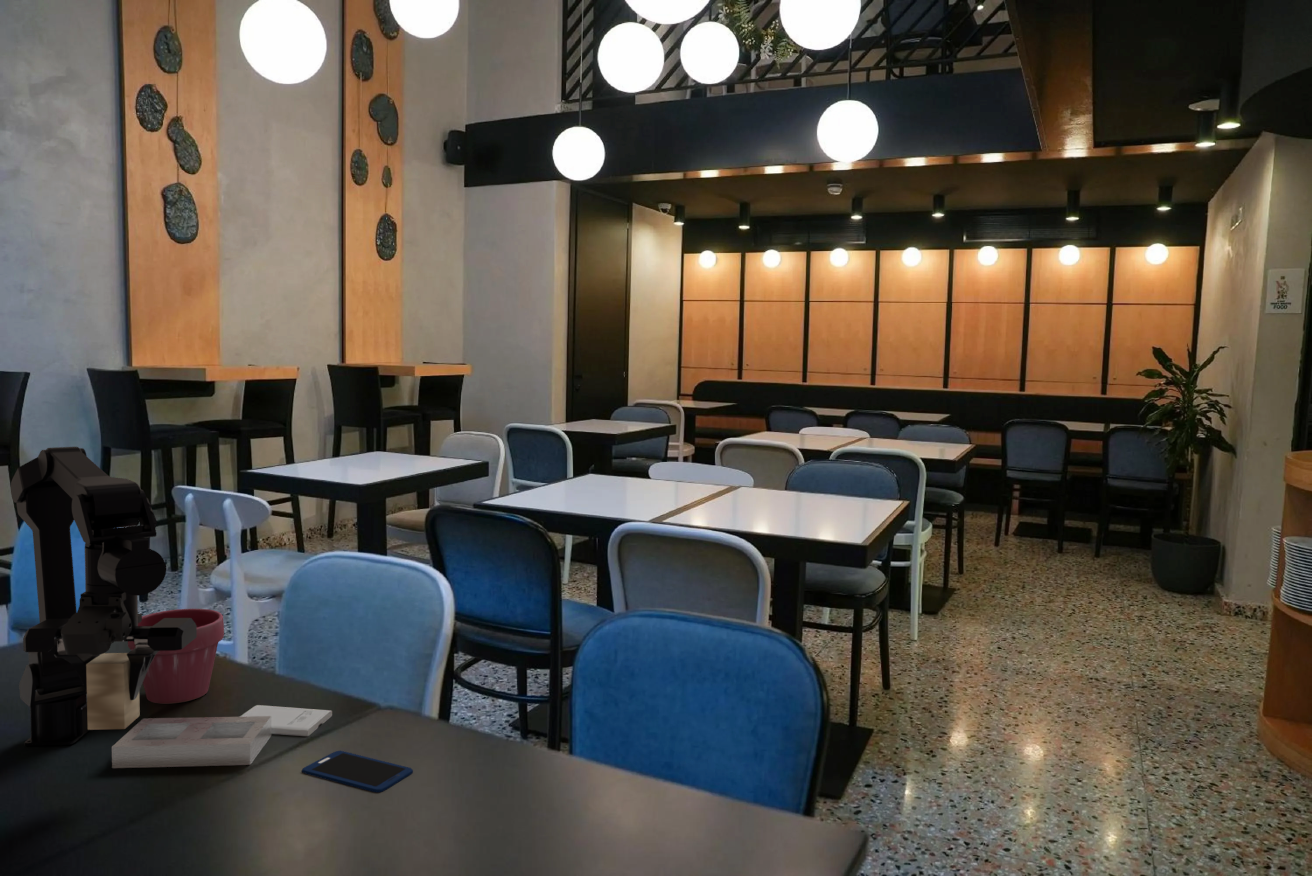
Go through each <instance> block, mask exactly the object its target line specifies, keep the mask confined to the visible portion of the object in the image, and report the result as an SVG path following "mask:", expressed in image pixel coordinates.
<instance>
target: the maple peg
mask: <svg viewBox="0 0 1312 876" xmlns="http://www.w3.org/2000/svg"><path fill="white" fill-rule="evenodd" d="M127 653H128V652H118V653H117V652H105V653H103V654H100V655H99V656H98V657H96V658H95V659H93V660H92V661H90V662H89V663H87V664H86V674H87V694H86V696H87V719H88V730H89V731H93V730H125V729H127V728H128V727H129V726H130V725H131V724H132V723H134V721H136V719H138V718H139V717H141V715H140V712H141V710H140V692H139V693H138V695H137V697H136V698H135V699H134V700H130V694H129V681H130V661H129V659H128V657H127Z"/></svg>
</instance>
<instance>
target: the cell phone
mask: <svg viewBox="0 0 1312 876" xmlns="http://www.w3.org/2000/svg"><path fill="white" fill-rule="evenodd" d="M301 773H303V774H305V775H309V776H313V777H317V778H320V779H324V780H328V781H331V782H334V783H338V784H342V785H346V786H350V787H354V788H358V789H361V790H364V791H365V790H366V791H368V792H373V793H382V792H385V791H386V790H388V789H390V788H392V787H393V786H394V785H396V784H398V783H399V782H401V781H403V780H405V779H406V778H407V777H409V776H411V775H412V774H414V769H412V768H411V767H408V766H404V765H401V764H396V763H391V762H388V761H385V760H380V759H377V758H372V757H368V756H364V755H360V754H356V753H352V752H347V751H345V750H335V751H333V752H331V753H329V754H327V755H326V756H323V757H322V758H320V759H318V760H316V761H314V762H312V763H310V764H308V765H306V766H305V767H303V768H302V769H301Z"/></svg>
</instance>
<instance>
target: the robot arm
mask: <svg viewBox="0 0 1312 876" xmlns="http://www.w3.org/2000/svg"><path fill="white" fill-rule="evenodd" d="M10 493H11V499H12V501H13V502H14V504H15V503H16V510H17V514H18V516H19V517H20V518H21V519H22V521H24V523H25V524H26V525H27V526H28V527H29V529H30V530H31V531H32V532H31V533H32V540H33V542H32V543H33V552H34V566H35V567H34V568H35V579H36V581H35V582H36V591H37V606H38V619H39V623H37V624H35V625H33V626H31V627H29V628H28V629H27V630H26V631H25V633H24V635H23V637H22V640H23V641H22V643H23V644H22V645H23V648H22V649H23V652H24V653H28V654H27V655H28V664H26V666H25V669H24V671H23V672H22V676H21V678H20V681H19V683H18V688H19V689H18V690H19V696H20V697H19V698H20V700H21V701H22V702H23V703H24V704H26V706H28V707H29V709H30V710H29V711H30V712H29V713H30V738H27V740H25V741H24V746H26V747H28V746H32V747H33V746H68V745H73V744H75V743H76V742H77V741H79V740H80V739H81V738H82V737H83V736H85V735H86V734H87V733H88V732H90V730H88V719H87V674H86V664H87V663H89V662H90V661H92V660H93V659H95V658H96V657H98V656H99V655H101V654H103V653H108V651H109V650H110V648H111V646H112V644H113V643H114V642H115V643H116V642H128V641H135V648H134V649H133V650H130V651H129V652H126V653H127V657H128V659H129V661H130V681H129V694H130V700H134V699H135V698H136V697H137V695H138V693H139V694H140V691H141V688H142V685H143V681H144V678H145V676H146V673H147V671H148V669H149V666H150V664H151V662H152V660H153V659H154V657H155V655H156V653H157V652H159V651H176V650H180V649H183V648H184V647H185V646H186V645H188V644H189V643H190V642H191V641H193V640H194V639H195V638H196V637H197V626H196V624H195V622H194V621H193V620H192V619H191V618H164V619H162V620H161V621H159V622H158V623H156V624H155V625H153V626H138V623H140V622H141V621H142V616H143V614H142V613H139V612H138V611H139V609H138V607H139V605H138V596H145V595H147V594H150V593H152V592H153V591H155V590H156V589H158V588H159V587H160V586H161V584H162V583H163V581H164V579H165V577H166V573H167V563H166V562H165V560H164V558H163V556H162V555H161V554H160V553H159V552H157V550H154V549H152V548H149V547H150V546H149V545H150V544H149V538H155V537H157V530H156V529H157V526H158V521H157V519H156V516H155V513H154V511H153V509H152V505H151V503H150V501H149V498H148V497H147V495H146V493H145V490H143V489H141V487H140V485H139V484H138V483H137V482H135V481H133V480H131V479H128V478H124V477H123V478H122V477H115V476H113V477H112V476H110V475H109V474H107V473H106V472H105V471H103V470H102V468H100V467H99V466H98V465H97V464H96V463H95V462H93V461H92V460H91V459H90V458H89V457H88V455H87V451H86V450H85V449H84V448H83V447H79V446H61V447H59V446H57V447H54V446H53V447H47V448H46V449H41V450H40V452H39V454H38V456H36V458H33V459H31V460H29V461H27V462H26V463H23V464H22V465H20V466H19V467H17V469H16V471H15V473H14V475H13V477H12V479H11V482H10ZM74 523H75V526H76V527H77V530H78V532H79V534H80V536H81V539H82V541H83V543H84V574H85V576H84V578H85V583H84V584H85V585H84V586H85V591H83V592H82V593H80V598H79V606H78V609H77V600H76V588H75V575H74V560H73V551H72V550H73V549H72V537H71V526H72V525H73V524H74ZM139 524H140V525H139Z"/></svg>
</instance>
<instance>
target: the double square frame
mask: <svg viewBox="0 0 1312 876" xmlns="http://www.w3.org/2000/svg"><path fill="white" fill-rule="evenodd" d="M271 737H272V734H271V716H249V717H240V716H211V717H209V716H208V717H207V716H206V717H156V718H155V717H153V718H151V717H150V718H148V717H147V718H145V717H144V718H142V719H141V720H140V721H139V722H138V723H137V724H135V725H134V726H133V727H132V728H131V729H130V730H129V731H128V732H127V733H125V734H124V735H123V736H122V737H121V738H120V739H119V740H118V741H116V743H115V744H113V745H112V746H111V768H112V769H132V768H134V769H135V768H137V769H138V768H139V769H140V768H167V767H168V768H170V767H171V768H172V767H173V768H174V767H176V768H177V767H178V768H179V767H210V766H211V767H212V766H215V767H216V766H217V767H219V766H246V765H247V766H251V765H252V763H253V762H254V760H255V759H256V758H257V756H258V755H259V753H260V752H261V751H262V749H263V748H264V747H265V745H266V744H267V742H268V741H269V739H270V738H271Z"/></svg>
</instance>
